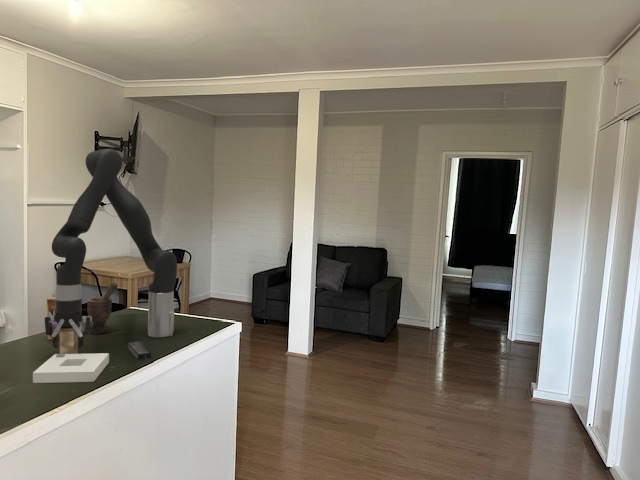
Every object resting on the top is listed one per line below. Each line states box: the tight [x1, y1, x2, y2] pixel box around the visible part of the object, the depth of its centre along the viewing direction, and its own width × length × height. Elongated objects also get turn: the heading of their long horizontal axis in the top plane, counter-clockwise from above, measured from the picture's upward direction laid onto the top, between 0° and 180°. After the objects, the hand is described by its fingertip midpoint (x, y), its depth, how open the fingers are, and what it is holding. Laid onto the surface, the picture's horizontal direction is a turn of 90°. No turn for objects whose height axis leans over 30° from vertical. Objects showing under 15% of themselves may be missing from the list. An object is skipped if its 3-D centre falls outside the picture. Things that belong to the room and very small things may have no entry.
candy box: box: [46, 296, 60, 342], centre depth 169 cm, size 9×4×15 cm, turn 72°
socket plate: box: [32, 352, 110, 384], centre depth 139 cm, size 16×16×4 cm
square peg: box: [59, 328, 78, 354], centre depth 152 cm, size 4×4×10 cm
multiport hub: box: [127, 341, 152, 361], centre depth 159 cm, size 4×14×2 cm, turn 35°
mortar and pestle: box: [86, 282, 119, 335], centre depth 180 cm, size 12×9×20 cm
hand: (68, 347), depth 152 cm, fingers open, 6 cm apart
